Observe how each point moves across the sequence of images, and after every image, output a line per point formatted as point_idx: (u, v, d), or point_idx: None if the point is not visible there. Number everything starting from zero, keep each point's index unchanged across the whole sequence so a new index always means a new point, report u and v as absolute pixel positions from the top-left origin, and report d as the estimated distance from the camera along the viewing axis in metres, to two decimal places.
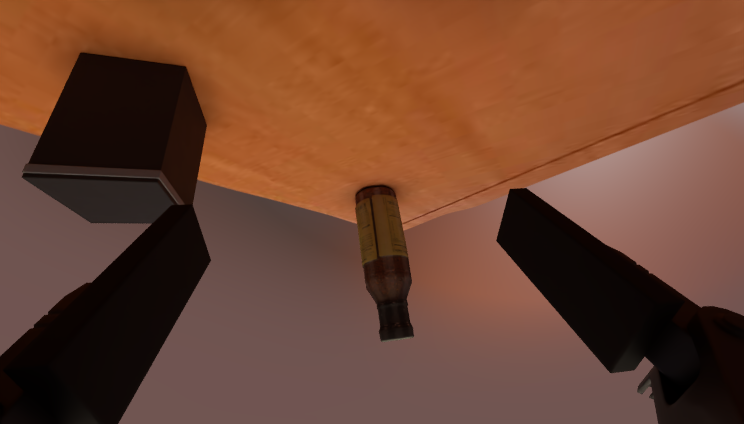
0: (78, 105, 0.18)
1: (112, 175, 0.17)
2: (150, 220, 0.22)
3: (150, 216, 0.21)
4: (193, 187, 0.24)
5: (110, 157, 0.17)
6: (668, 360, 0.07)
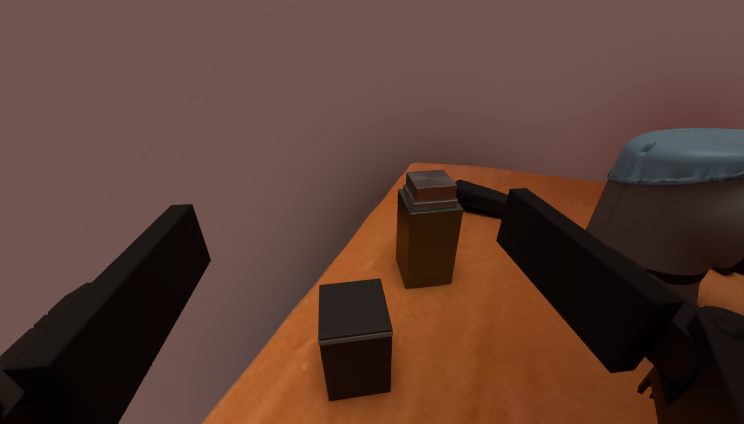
0: None
1: (387, 310, 0.27)
2: (325, 315, 0.27)
3: (334, 316, 0.27)
4: (328, 359, 0.26)
5: None
6: (668, 360, 0.07)
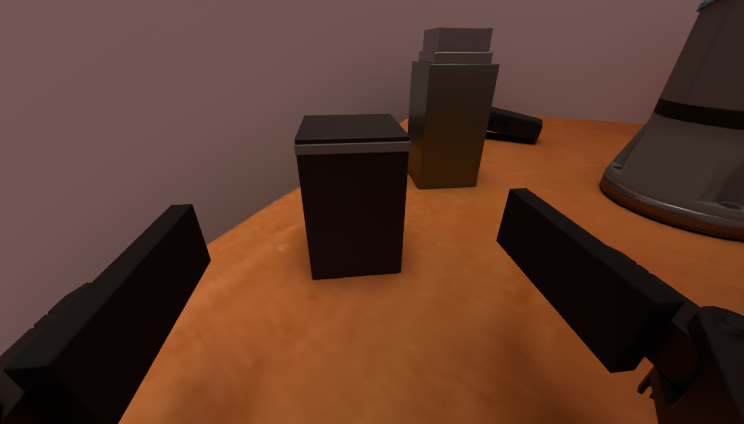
0: None
1: None
2: (309, 128, 0.18)
3: (321, 129, 0.18)
4: (311, 189, 0.17)
5: None
6: (668, 360, 0.07)
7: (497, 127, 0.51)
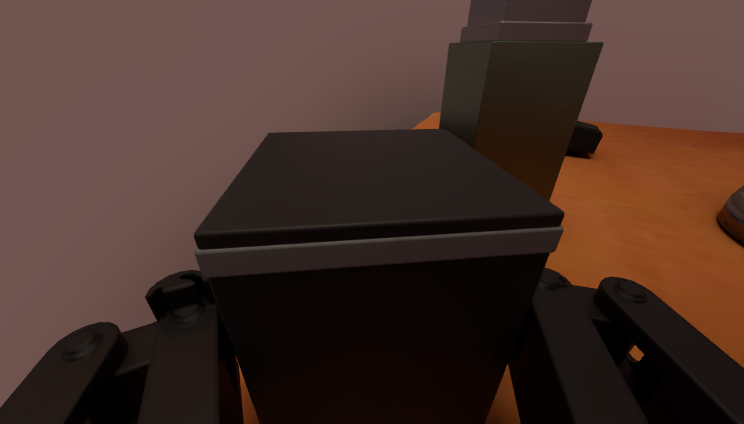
0: None
1: None
2: (264, 174, 0.07)
3: (296, 177, 0.07)
4: (264, 351, 0.06)
5: None
6: None
7: None
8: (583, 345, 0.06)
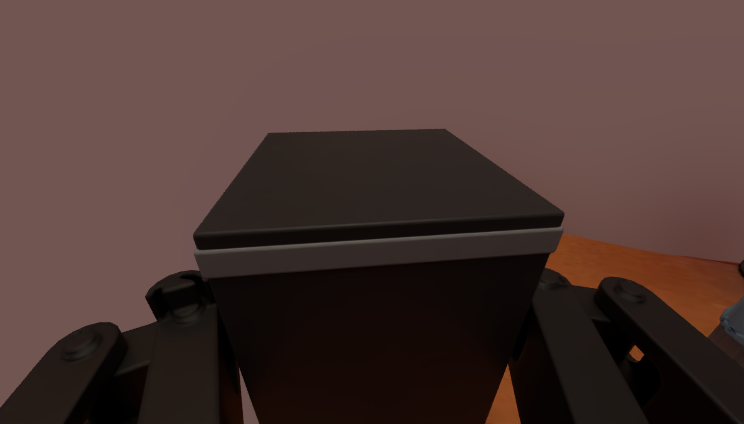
0: None
1: None
2: (263, 175, 0.07)
3: (295, 178, 0.07)
4: (264, 352, 0.06)
5: None
6: None
7: None
8: (583, 345, 0.06)
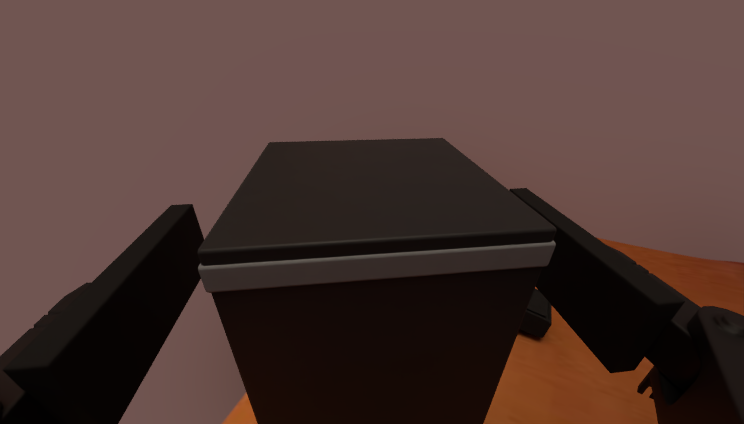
0: None
1: None
2: (265, 187, 0.07)
3: (296, 191, 0.07)
4: (264, 362, 0.06)
5: None
6: (668, 360, 0.07)
7: None
8: None
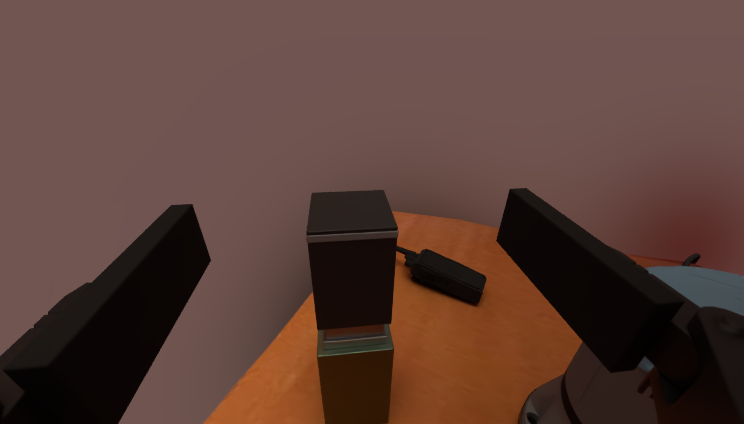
0: None
1: None
2: (317, 214, 0.22)
3: (327, 215, 0.22)
4: (318, 265, 0.21)
5: None
6: (668, 360, 0.07)
7: (439, 284, 0.49)
8: None
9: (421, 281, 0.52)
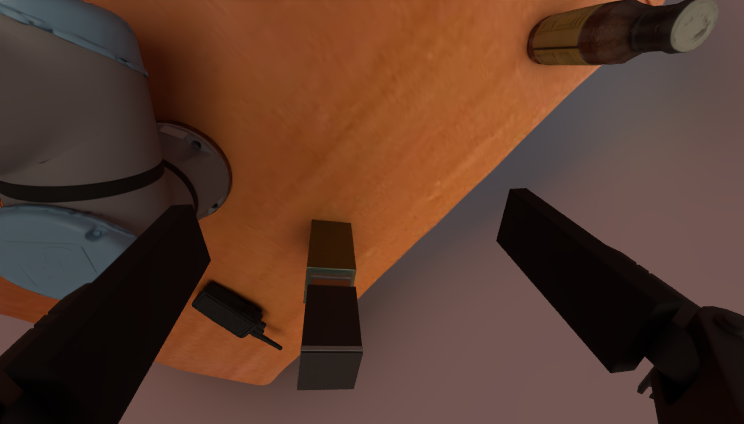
0: None
1: (299, 364, 0.31)
2: (353, 368, 0.32)
3: (346, 366, 0.31)
4: (355, 329, 0.33)
5: None
6: (668, 360, 0.07)
7: (239, 303, 0.56)
8: None
9: (254, 307, 0.59)
